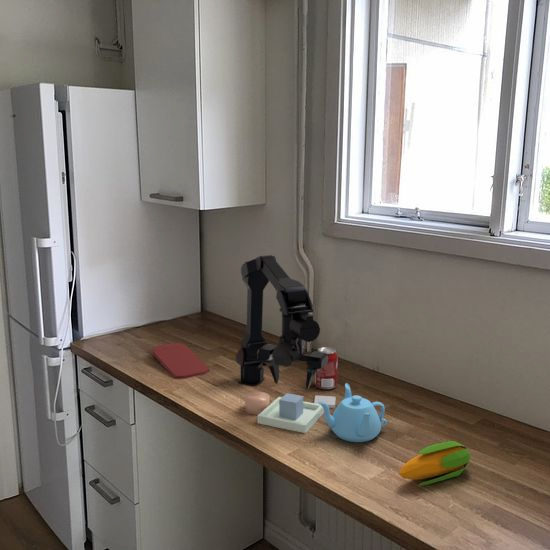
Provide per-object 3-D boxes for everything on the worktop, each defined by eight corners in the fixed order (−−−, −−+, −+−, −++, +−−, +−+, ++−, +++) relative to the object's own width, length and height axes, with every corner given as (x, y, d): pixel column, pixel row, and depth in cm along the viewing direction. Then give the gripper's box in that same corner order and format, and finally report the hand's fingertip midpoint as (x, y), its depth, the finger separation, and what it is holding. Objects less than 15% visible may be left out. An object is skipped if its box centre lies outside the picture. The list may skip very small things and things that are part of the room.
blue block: (279, 416, 171) (279, 399, 170) (286, 409, 176) (286, 393, 174) (296, 420, 169) (296, 403, 168) (303, 413, 173) (303, 396, 172)
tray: (257, 423, 169) (257, 415, 169) (278, 403, 181) (278, 396, 181) (305, 433, 163) (305, 425, 163) (324, 412, 176) (324, 405, 175)
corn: (479, 442, 142) (412, 464, 133) (479, 474, 143) (412, 497, 134) (456, 431, 149) (389, 451, 139) (455, 461, 150) (390, 483, 140)
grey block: (313, 408, 180) (313, 403, 179) (315, 400, 185) (315, 395, 185) (334, 409, 179) (334, 405, 178) (335, 401, 184) (335, 396, 184)
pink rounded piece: (240, 412, 176) (240, 399, 175) (251, 402, 182) (251, 390, 181) (263, 416, 173) (263, 403, 172) (273, 407, 179) (273, 394, 179)
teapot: (393, 431, 165) (395, 394, 163) (366, 453, 153) (368, 414, 151) (345, 416, 173) (346, 382, 171) (316, 437, 161) (316, 399, 159)
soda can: (335, 391, 190) (336, 354, 188) (313, 389, 192) (314, 352, 189) (338, 383, 197) (339, 347, 194) (316, 381, 198) (317, 345, 196)
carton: (210, 383, 207) (179, 351, 226) (211, 370, 205) (179, 339, 225) (176, 391, 201) (147, 357, 220) (177, 377, 199) (147, 345, 218)
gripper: (247, 334, 164) (248, 390, 167) (313, 344, 156) (313, 402, 159) (265, 323, 173) (266, 376, 177) (329, 332, 166) (328, 387, 169)
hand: (292, 385), depth 170 cm, fingers open, 9 cm apart
